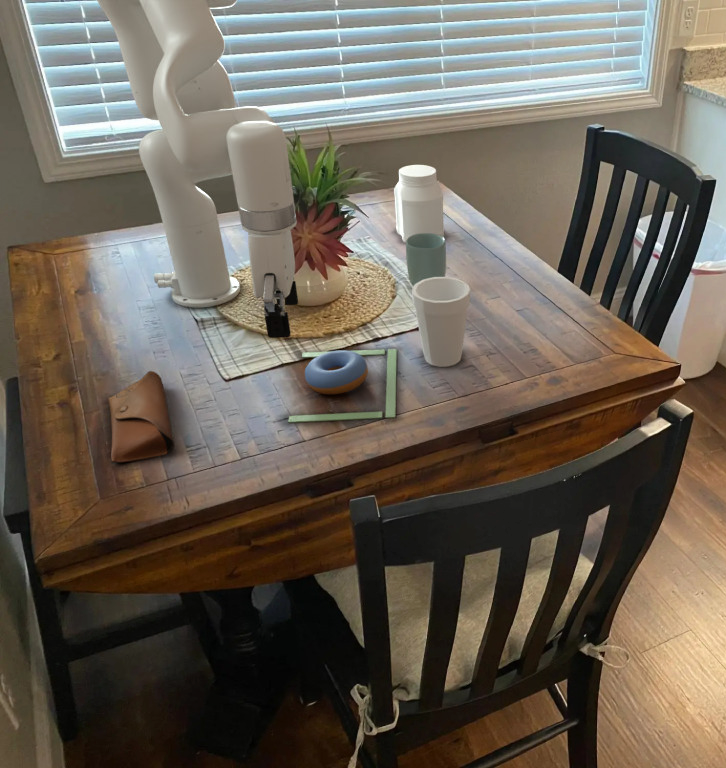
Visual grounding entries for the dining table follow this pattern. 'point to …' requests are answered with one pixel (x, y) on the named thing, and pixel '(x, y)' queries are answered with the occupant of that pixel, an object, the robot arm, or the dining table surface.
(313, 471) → the dining table surface
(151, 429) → the sunglasses case
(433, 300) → the foam cup
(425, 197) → the jar
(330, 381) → the doughnut
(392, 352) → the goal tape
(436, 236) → the cup
